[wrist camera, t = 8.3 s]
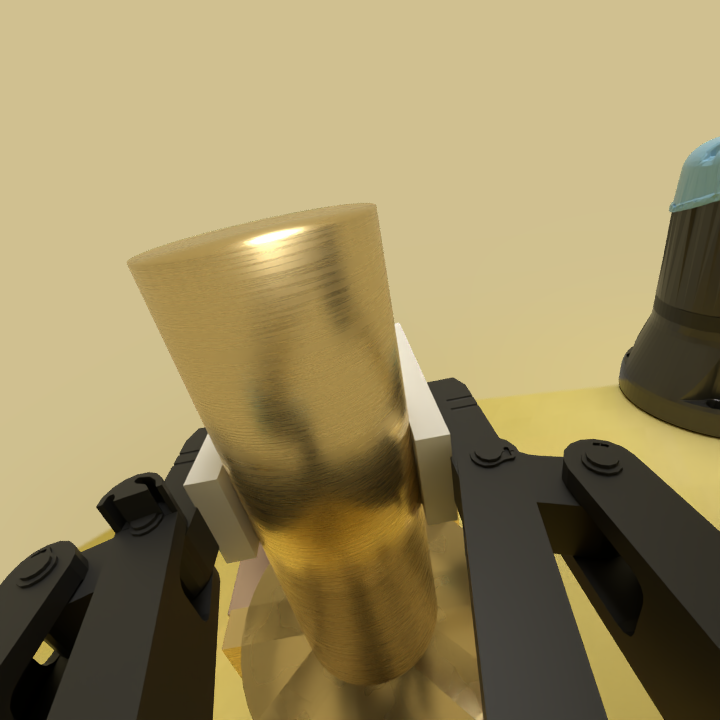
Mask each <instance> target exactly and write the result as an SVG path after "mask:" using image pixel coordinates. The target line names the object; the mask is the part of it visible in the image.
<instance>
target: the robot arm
mask: <svg viewBox="0 0 720 720" xmlns="http://www.w3.org/2000/svg"><path fill="white" fill-rule="evenodd" d="M669 211H670V212H672V214H671V220H670V225H669V230H668V235H667V240H666V246H665V251H664V257H663V261H662V266H661V271H660V275H659V280H658V285H657V290H656V296H655V301H654V306H653V310H652V313H651V315H650V317H649V319H648V320H647V322H646V323H645V325H644V327H643V328H642V330H641V332H640V333H639V335H638V337H637V339H636V341H635V344H634V346H633V347H631V348H630V349H629V350H628V352H627V353H626V354H625V356H624V358H623V360H622V364H621V369H620V376H619V385H620V388H621V390H622V391H623V393H624V394H625V395H626V396H627V398H628V399H629V400H631V401H632V402H633V403H634V404H635V405H637V406H638V407H640V408H641V409H643V410H644V411H646V412H648V413H649V414H651V415H653V416H655V417H657V418H659V419H662V420H664V421H666V422H669V423H671V424H674V425H676V426H679V427H682V428H685V429H688V430H692V431H695V432H699V433H703V434H707V435H711V436H716V437H720V137H717V138H715V139H712V140H710V141H708V142H706V143H704V144H702V145H701V146H699V147H698V148H697V149H695V150H694V151H693V152H692V153H691V154H690V155H689V156H688V158H687V159H686V161H685V163H684V165H683V167H682V171H681V175H680V179H679V182H678V186H677V190H676V194H675V198H674V201H673V202H672V203H671V205H670V208H669ZM395 330H396V337H397V343H398V350H399V356H400V363H401V369H402V376H403V382H404V389H405V395H406V402H407V408H408V415H409V425H410V431H411V438H412V444H413V451H414V457H415V464H416V470H417V476H418V483H419V489H420V496H421V502H422V506H423V510H424V513H425V517H426V521H427V524H428V525H434V524H439V523H444V522H450V521H455V520H458V514H457V509H458V512H459V514H460V517H461V520H462V524H463V536H464V548H465V556H466V563H467V573H468V582H469V591H470V600H471V610H472V619H473V628H474V637H475V647H476V656H477V665H478V674H479V684H480V693H481V702H482V711H483V720H608V718H607V715H606V712H605V709H604V706H603V703H602V700H601V697H600V694H599V691H598V688H597V685H596V682H595V679H594V676H593V673H592V670H591V667H590V663H589V660H588V657H587V654H586V651H585V648H584V645H583V642H582V639H581V636H580V633H579V630H578V627H577V624H576V621H575V618H574V615H573V612H572V609H571V606H570V603H569V600H568V597H567V593H566V590H565V587H564V584H563V581H562V578H561V575H560V572H559V569H558V566H557V563H556V560H555V557H554V554H553V553H555V554H561V556H562V557H563V559H564V560H565V562H566V564H567V565H568V567H569V568H570V570H571V572H572V573H573V575H574V576H575V578H576V580H577V581H578V583H579V584H580V586H581V588H582V589H583V591H584V592H585V594H586V596H587V597H588V599H589V600H590V602H591V604H592V605H593V607H594V608H595V610H596V612H597V613H598V615H599V616H600V618H601V620H602V621H603V623H604V624H605V626H606V628H607V629H608V631H609V632H610V634H611V636H612V637H613V639H614V640H615V642H616V644H617V645H618V647H619V648H620V650H621V652H622V653H623V655H624V656H625V658H626V660H627V661H628V663H629V664H630V666H631V667H632V669H633V671H634V672H635V674H636V675H637V677H638V679H639V680H640V682H641V683H642V685H643V687H644V688H645V690H646V691H647V693H648V695H649V696H650V698H651V699H652V701H653V703H654V704H655V706H656V707H657V709H658V711H659V712H660V714H661V715H662V717H663V719H664V720H720V531H719V530H717V529H716V528H715V527H714V526H713V525H712V524H711V523H710V522H709V521H707V520H706V519H705V518H704V517H703V516H702V515H701V514H700V513H699V512H697V511H696V510H695V509H694V508H693V507H692V506H691V505H690V504H689V503H687V502H686V501H685V500H684V499H683V498H682V497H681V496H680V495H679V494H677V493H676V492H675V491H674V490H673V489H672V488H671V487H670V486H669V485H667V484H666V483H665V482H664V481H663V480H662V479H661V478H660V477H658V476H657V475H656V474H655V473H654V472H653V471H652V470H651V469H650V468H648V467H647V466H646V465H645V464H644V463H643V462H642V461H641V460H640V459H638V458H637V457H636V456H635V455H634V454H632V453H631V452H629V451H628V450H627V449H625V448H624V447H622V446H619V445H616V444H614V443H611V442H609V441H603V440H596V439H587V440H579V441H576V442H574V443H571V444H570V445H569V446H568V447H567V448H566V449H565V450H564V457H552V456H536V455H528V454H525V453H521V452H519V451H518V450H517V448H516V447H515V446H514V445H512V444H511V443H510V442H508V441H507V440H504V439H501V438H499V437H498V435H497V434H496V432H495V431H494V429H493V427H492V426H491V424H490V423H489V421H488V420H487V418H486V416H485V415H484V413H483V412H482V410H481V409H480V407H479V406H478V405H477V402H476V401H475V399H474V398H473V397H472V395H471V393H470V391H469V390H468V388H467V387H466V385H465V384H463V383H461V382H460V381H458V380H457V379H455V378H449V379H443V380H438V381H433V382H426V380H425V378H424V376H423V373H422V371H421V369H420V367H419V365H418V362H417V361H416V359H415V356H414V354H413V352H412V349H411V347H410V345H409V343H408V341H407V338H406V336H405V334H404V332H403V330H402V327H401V325H400V323H396V324H395ZM97 509H98V510H99V512H100V513H101V514H102V516H103V517H104V518H105V520H106V521H107V522H108V524H109V525H110V526H111V528H112V529H113V530H114V532H115V536H114V538H112V539H110V540H108V541H106V542H103V543H101V544H99V545H96V546H94V547H92V548H90V549H87V550H85V551H83V552H80V551H79V550H78V548H77V547H76V546H75V545H74V544H73V543H71V542H70V541H59V542H56V543H53V544H50V545H47V546H46V547H44V548H42V549H40V550H38V551H36V552H35V553H33V554H31V555H30V556H29V557H28V558H26V559H25V560H24V561H22V562H21V563H20V564H19V565H18V566H17V567H16V568H15V569H14V570H13V571H12V572H11V573H10V574H9V575H8V576H7V577H6V579H5V580H4V581H3V582H2V584H1V585H0V720H213V704H214V686H215V667H216V649H217V630H218V612H219V593H220V578H219V573H218V571H217V570H216V568H215V566H214V564H215V561H216V557H217V554H218V551H219V550H220V552H221V554H222V555H223V557H224V559H225V561H226V563H232V562H237V561H243V560H248V559H253V558H257V553H258V547H259V542H260V541H259V539H258V537H257V534H256V532H255V530H254V528H253V526H252V524H251V522H250V520H249V518H248V516H247V514H246V511H245V509H244V507H243V505H242V503H241V501H240V499H239V497H238V495H237V493H236V491H235V488H234V486H233V484H232V482H231V480H230V478H229V476H228V474H227V472H226V470H225V468H224V465H223V463H222V461H221V459H220V457H219V455H218V453H217V451H216V449H215V447H214V445H213V442H212V440H211V438H210V436H209V434H208V432H207V430H206V428H200V429H198V430H197V431H196V432H195V433H194V434H193V435H192V436H191V437H190V438H189V439H188V440H187V441H186V442H185V444H184V446H183V448H182V450H181V452H180V456H178V457H177V459H176V461H175V463H174V466H173V467H172V468H171V470H170V472H169V474H168V475H167V477H166V479H165V481H164V480H163V479H162V477H160V475H158V474H157V473H150V472H148V473H143V474H138V475H135V476H133V477H131V478H128V479H126V480H124V481H123V482H121V483H120V484H118V485H117V486H115V487H114V488H112V489H111V490H110V491H109V492H108V493H107V494H106V495H105V496H104V497H103V498H102V499H101V500H100V502H99V504H98V505H97ZM43 641H45V642H46V643H47V644H48V645H49V646H50V647H51V648H53V649H54V652H53V653H52V655H51V656H50V657H49V659H48V660H47V661H46V662H45V663H44V664H42V665H40V664H39V663H38V662H37V661H35V660H34V659H33V656H34V655H35V653H36V652H37V650H38V648H39V647H40V645H41V644H42V642H43Z"/></svg>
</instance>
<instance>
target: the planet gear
mask: <svg viewBox="0 0 720 720" xmlns="http://www.w3.org/2000/svg"><path fill="white" fill-rule="evenodd" d="M127 265H128V267H129V269H130V271H131V273H132V275H133V277H134V279H135V281H136V284H137V286H138V288H139V290H140V292H141V294H142V296H143V298H144V300H145V302H146V305H147V307H148V309H149V311H150V313H151V315H152V317H153V319H154V321H155V323H156V325H157V327H158V330H159V332H160V334H161V336H162V338H163V340H164V342H165V344H166V346H167V348H168V351H169V353H170V355H171V357H172V359H173V361H174V363H175V365H176V367H177V369H178V371H179V374H180V376H181V378H182V380H183V382H184V384H185V386H186V388H187V390H188V392H189V394H190V396H191V398H192V401H193V403H194V405H195V407H196V409H197V411H198V413H199V415H200V417H201V419H202V422H203V424H204V426H205V428H206V430H207V432H208V434H209V436H210V438H211V440H212V442H213V445H214V447H215V449H216V451H217V453H218V455H219V457H220V459H221V461H222V463H223V465H224V468H225V470H226V472H227V474H228V476H229V478H230V480H231V482H232V484H233V486H234V488H235V491H236V493H237V495H238V497H239V499H240V501H241V503H242V505H243V507H244V509H245V511H246V514H247V516H248V518H249V520H250V522H251V524H252V526H253V528H254V530H255V532H256V534H257V537H258V539H259V541H260V543H261V545H262V547H263V549H264V551H265V553H266V555H267V557H268V560H269V562H270V563H269V565H268V567H267V568H266V570H265V572H264V573H263V575H262V577H261V579H260V581H259V583H258V585H257V587H256V589H255V591H254V594H253V597H252V599H251V602H250V605H249V607H245V608H240V609H234V610H231V612H230V616H229V620H228V625H227V629H226V634H225V638H224V642H223V647H222V651H223V652H224V654H225V655H226V657H227V658H228V659H229V661H230V662H231V664H232V665H233V667H234V668H235V669H236V671H237V672H238V674H239V675H240V677H241V678H242V681H243V688H244V692H245V696H246V701H247V705H248V708H249V711H250V713H251V716H252V718H253V720H483V711H482V702H481V693H480V684H479V674H478V665H477V656H476V647H475V637H474V628H473V619H472V610H471V600H470V591H469V582H468V573H467V563H466V556H465V548H464V536H463V529H462V528H461V527H460V526H459V518H458V520H455V521H450V522H444V523H439V524H434V525H428V524H427V521H426V517H425V513H424V510H423V506H422V502H421V496H420V489H419V483H418V476H417V470H416V464H415V457H414V451H413V444H412V438H411V431H410V425H409V415H408V408H407V402H406V395H405V389H404V382H403V376H402V369H401V363H400V356H399V350H398V343H397V337H396V330H395V324H394V318H393V311H392V305H391V298H390V292H389V285H388V278H387V272H386V266H385V260H384V252H383V246H382V240H381V233H380V226H379V220H378V214H377V207H376V205H375V204H372V203H357V204H346V205H337V206H331V207H324V208H317V209H312V210H306V211H301V212H295V213H290V214H285V215H280V216H275V217H271V218H266V219H261V220H257V221H252V222H248V223H244V224H239V225H235V226H231V227H227V228H223V229H219V230H215V231H211V232H207V233H204V234H200V235H196V236H193V237H189V238H186V239H182V240H179V241H176V242H172V243H169V244H166V245H163V246H160V247H157V248H154V249H151V250H149V251H146V252H144V253H141V254H139V255H136V256H134V257H132V258H131V259H129V260H128V261H127ZM457 514H458V509H457Z"/></svg>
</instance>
